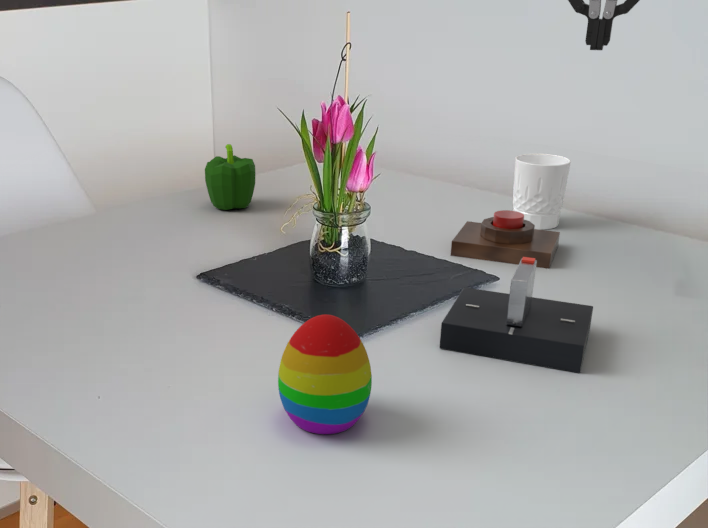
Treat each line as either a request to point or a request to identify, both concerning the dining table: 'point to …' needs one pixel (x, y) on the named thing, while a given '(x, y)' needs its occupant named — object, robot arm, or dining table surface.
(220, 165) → the bell pepper
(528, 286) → the grey rectangular box
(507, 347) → the card holder base
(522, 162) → the white cup
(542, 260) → the button block
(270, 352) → the dining table surface
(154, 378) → the dining table surface
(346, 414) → the decorative egg
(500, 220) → the button
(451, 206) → the dining table surface
